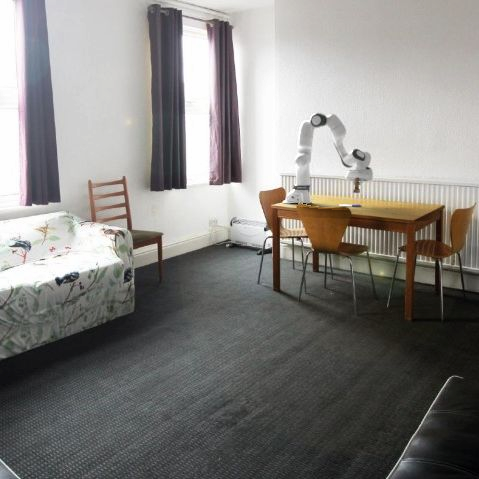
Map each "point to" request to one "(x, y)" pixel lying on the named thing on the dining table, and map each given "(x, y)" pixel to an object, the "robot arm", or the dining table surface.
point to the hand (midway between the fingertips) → (356, 184)
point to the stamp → (356, 186)
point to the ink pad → (356, 205)
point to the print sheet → (345, 205)
